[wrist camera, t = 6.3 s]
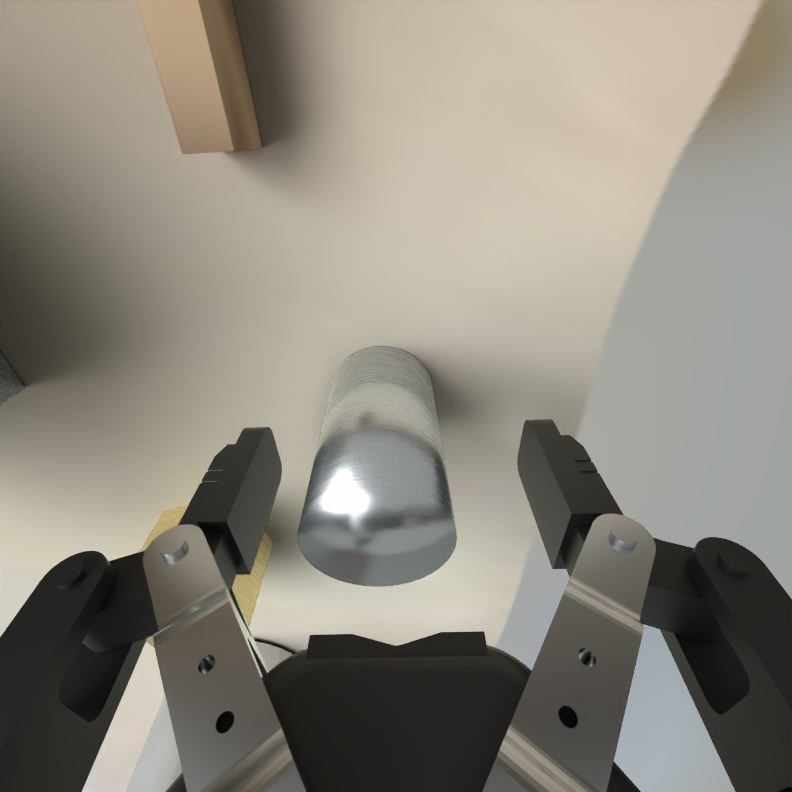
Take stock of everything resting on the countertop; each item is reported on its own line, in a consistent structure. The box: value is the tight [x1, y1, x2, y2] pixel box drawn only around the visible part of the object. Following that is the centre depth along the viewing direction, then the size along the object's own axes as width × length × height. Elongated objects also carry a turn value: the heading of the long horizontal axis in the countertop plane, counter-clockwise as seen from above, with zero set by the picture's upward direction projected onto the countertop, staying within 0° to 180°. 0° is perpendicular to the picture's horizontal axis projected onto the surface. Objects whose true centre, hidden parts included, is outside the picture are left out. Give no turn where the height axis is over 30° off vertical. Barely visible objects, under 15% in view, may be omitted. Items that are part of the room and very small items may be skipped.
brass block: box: [140, 505, 273, 648], centre depth 18 cm, size 4×4×5 cm
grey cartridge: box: [298, 346, 457, 586], centre depth 13 cm, size 4×4×7 cm
